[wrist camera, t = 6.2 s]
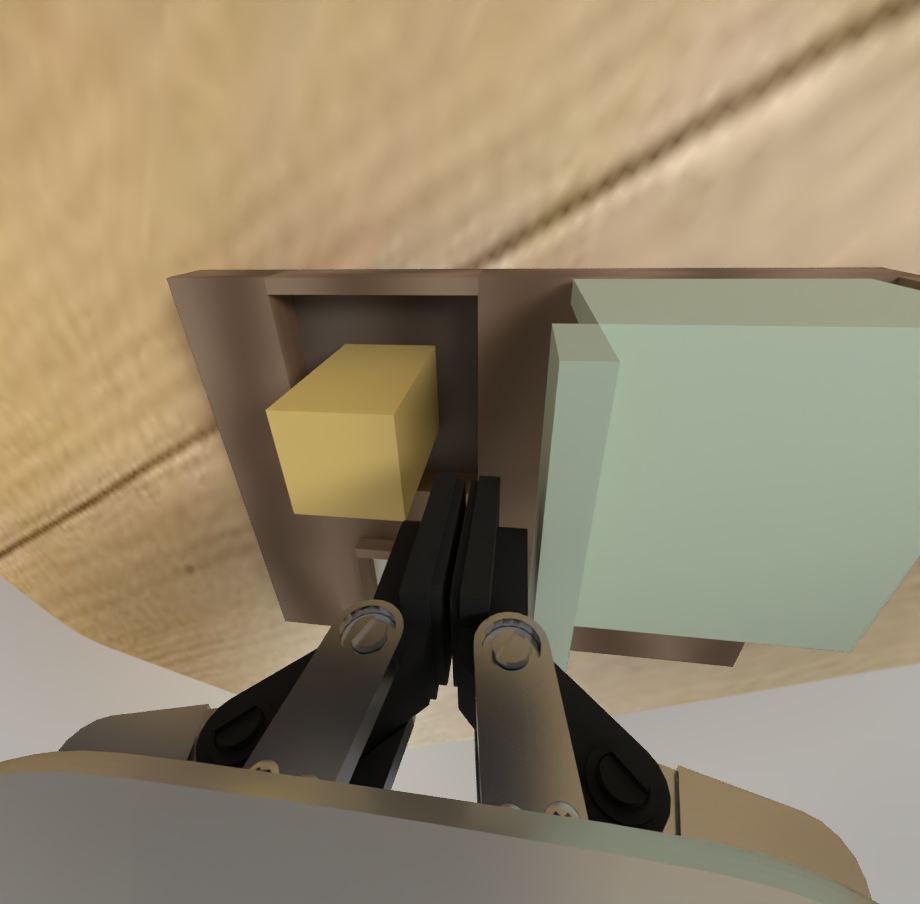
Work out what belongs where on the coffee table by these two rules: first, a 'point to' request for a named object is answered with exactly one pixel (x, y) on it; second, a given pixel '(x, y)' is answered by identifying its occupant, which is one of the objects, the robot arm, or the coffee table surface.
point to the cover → (728, 460)
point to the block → (359, 431)
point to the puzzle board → (459, 403)
